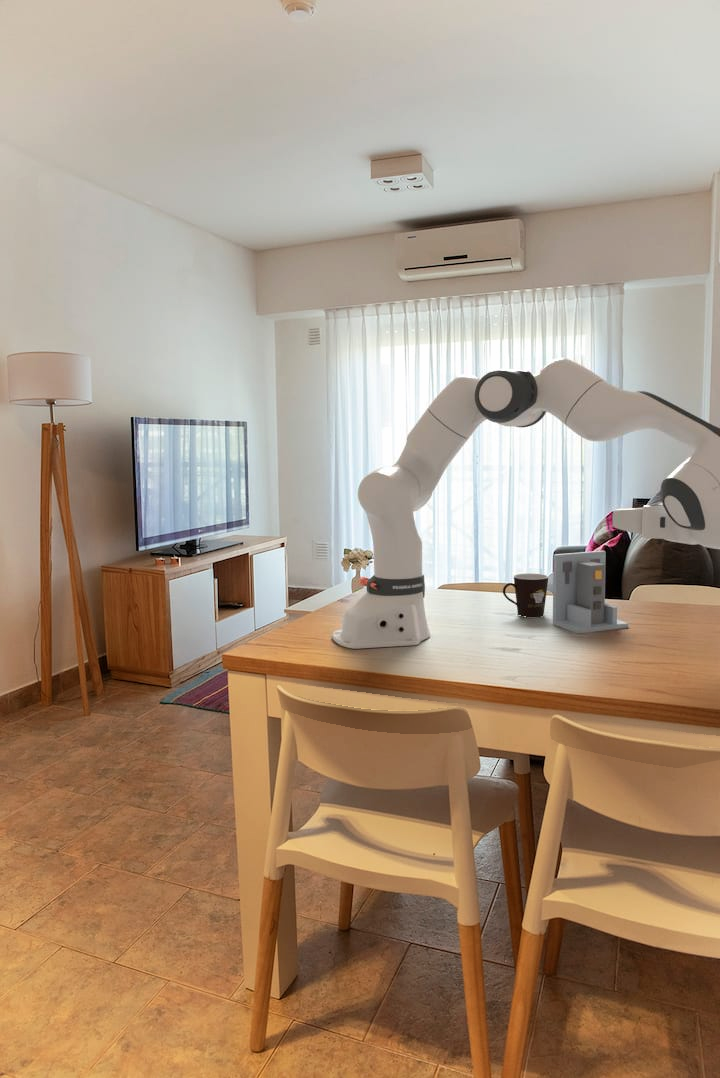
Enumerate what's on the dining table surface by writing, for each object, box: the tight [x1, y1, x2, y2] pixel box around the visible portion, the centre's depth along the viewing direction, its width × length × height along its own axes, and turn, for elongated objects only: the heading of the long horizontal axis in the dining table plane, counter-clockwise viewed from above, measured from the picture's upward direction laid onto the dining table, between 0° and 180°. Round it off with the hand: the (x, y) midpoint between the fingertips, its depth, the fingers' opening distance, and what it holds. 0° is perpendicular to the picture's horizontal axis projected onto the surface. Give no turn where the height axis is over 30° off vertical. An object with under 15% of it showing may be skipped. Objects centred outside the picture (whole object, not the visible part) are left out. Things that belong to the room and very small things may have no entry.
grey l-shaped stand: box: [552, 550, 629, 634], centre depth 176 cm, size 14×10×17 cm
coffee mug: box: [502, 573, 549, 618], centre depth 189 cm, size 12×9×10 cm
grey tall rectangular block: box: [577, 562, 606, 625], centre depth 176 cm, size 4×6×14 cm
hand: (635, 514), depth 160 cm, fingers open, 8 cm apart
